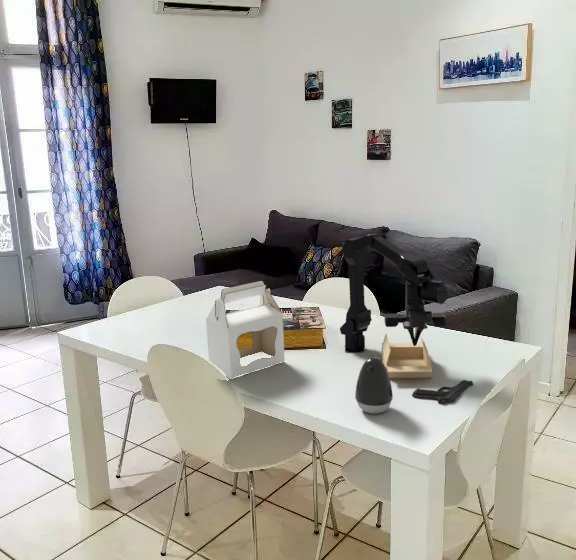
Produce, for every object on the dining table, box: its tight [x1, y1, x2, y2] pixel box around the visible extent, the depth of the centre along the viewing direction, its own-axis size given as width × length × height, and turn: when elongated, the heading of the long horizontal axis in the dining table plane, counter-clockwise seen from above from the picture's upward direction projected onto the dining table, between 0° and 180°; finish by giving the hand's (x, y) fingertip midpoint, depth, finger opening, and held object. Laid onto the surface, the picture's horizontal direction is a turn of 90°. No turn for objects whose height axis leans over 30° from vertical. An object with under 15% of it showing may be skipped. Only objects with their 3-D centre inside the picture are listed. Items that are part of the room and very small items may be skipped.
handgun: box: [411, 379, 474, 405], centre depth 181 cm, size 18×2×12 cm
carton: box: [381, 342, 433, 380], centre depth 199 cm, size 14×26×4 cm, turn 176°
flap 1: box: [381, 333, 391, 364], centre depth 198 cm, size 1×17×4 cm, turn 175°
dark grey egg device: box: [354, 356, 394, 415], centre depth 168 cm, size 10×10×15 cm
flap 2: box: [419, 333, 432, 365], centre depth 197 cm, size 1×17×4 cm, turn 174°
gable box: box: [205, 280, 286, 380], centre depth 203 cm, size 22×13×28 cm, turn 129°
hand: (414, 345), depth 197 cm, fingers closed
